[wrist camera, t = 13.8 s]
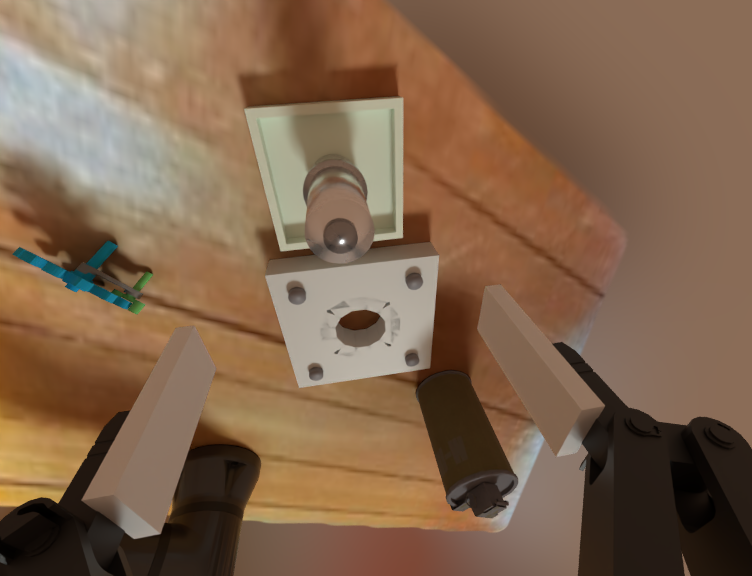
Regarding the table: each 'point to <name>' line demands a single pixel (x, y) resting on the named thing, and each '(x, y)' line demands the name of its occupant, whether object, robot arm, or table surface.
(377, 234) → the parts tray
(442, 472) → the canister
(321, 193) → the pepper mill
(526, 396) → the robot arm
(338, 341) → the bearing plate
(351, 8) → the table surface
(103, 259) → the teal bumpy figure
